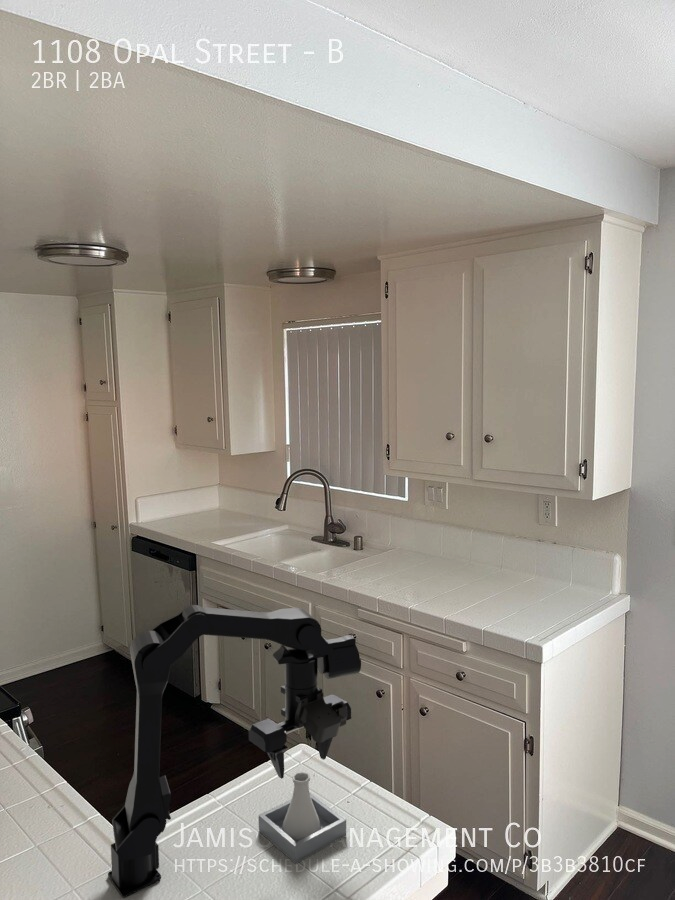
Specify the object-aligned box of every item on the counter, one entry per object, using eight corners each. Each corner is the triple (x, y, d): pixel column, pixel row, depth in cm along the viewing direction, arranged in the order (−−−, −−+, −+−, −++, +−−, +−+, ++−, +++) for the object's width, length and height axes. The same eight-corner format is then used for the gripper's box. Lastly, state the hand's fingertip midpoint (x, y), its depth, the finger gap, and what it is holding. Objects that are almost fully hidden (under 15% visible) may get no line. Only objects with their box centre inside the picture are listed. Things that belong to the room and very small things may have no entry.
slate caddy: (295, 863, 114) (295, 846, 114) (258, 830, 122) (258, 814, 122) (346, 835, 121) (346, 819, 121) (308, 806, 129) (308, 791, 129)
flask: (317, 845, 117) (317, 790, 116) (276, 841, 119) (275, 786, 118) (325, 819, 124) (325, 767, 124) (286, 815, 126) (286, 763, 125)
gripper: (284, 716, 107) (285, 810, 108) (372, 682, 119) (372, 768, 120) (246, 692, 115) (247, 779, 117) (331, 663, 127) (332, 743, 129)
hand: (302, 767), depth 121 cm, fingers open, 9 cm apart
